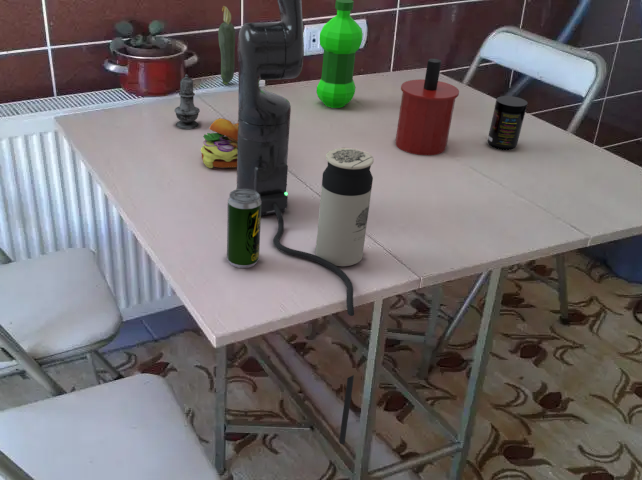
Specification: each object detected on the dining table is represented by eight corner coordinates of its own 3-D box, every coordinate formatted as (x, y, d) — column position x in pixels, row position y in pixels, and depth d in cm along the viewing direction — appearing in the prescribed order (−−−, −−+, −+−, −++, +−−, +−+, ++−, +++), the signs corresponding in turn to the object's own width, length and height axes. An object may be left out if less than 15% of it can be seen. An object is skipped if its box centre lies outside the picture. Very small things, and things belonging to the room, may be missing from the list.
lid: (469, 95, 162) (476, 62, 158) (435, 107, 155) (442, 73, 151) (422, 81, 169) (428, 48, 165) (388, 92, 162) (393, 58, 158)
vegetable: (237, 86, 198) (238, 7, 187) (222, 88, 196) (223, 9, 185) (229, 81, 201) (230, 4, 190) (215, 83, 199) (215, 5, 188)
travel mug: (305, 253, 127) (314, 154, 117) (338, 239, 131) (349, 143, 121) (338, 273, 122) (350, 171, 112) (371, 258, 126) (386, 159, 116)
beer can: (223, 267, 122) (224, 201, 116) (230, 250, 127) (231, 186, 120) (256, 270, 122) (259, 204, 115) (261, 254, 126) (264, 190, 119)
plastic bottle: (305, 103, 189) (313, -1, 175) (334, 95, 195) (344, -6, 181) (334, 114, 183) (345, 8, 169) (363, 105, 189) (375, 2, 175)
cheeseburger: (187, 160, 157) (195, 113, 153) (223, 159, 164) (231, 113, 161) (220, 175, 151) (229, 126, 147) (256, 173, 159) (265, 126, 155)
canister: (455, 147, 169) (466, 92, 162) (425, 159, 162) (435, 103, 155) (415, 132, 175) (424, 79, 168) (385, 143, 169) (393, 89, 162)
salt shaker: (198, 130, 172) (198, 78, 165) (173, 129, 172) (171, 77, 165) (201, 120, 176) (200, 70, 170) (176, 119, 176) (174, 69, 170)
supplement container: (522, 150, 168) (533, 105, 162) (494, 152, 167) (505, 106, 161) (507, 139, 174) (518, 95, 168) (481, 140, 172) (490, 96, 167)
